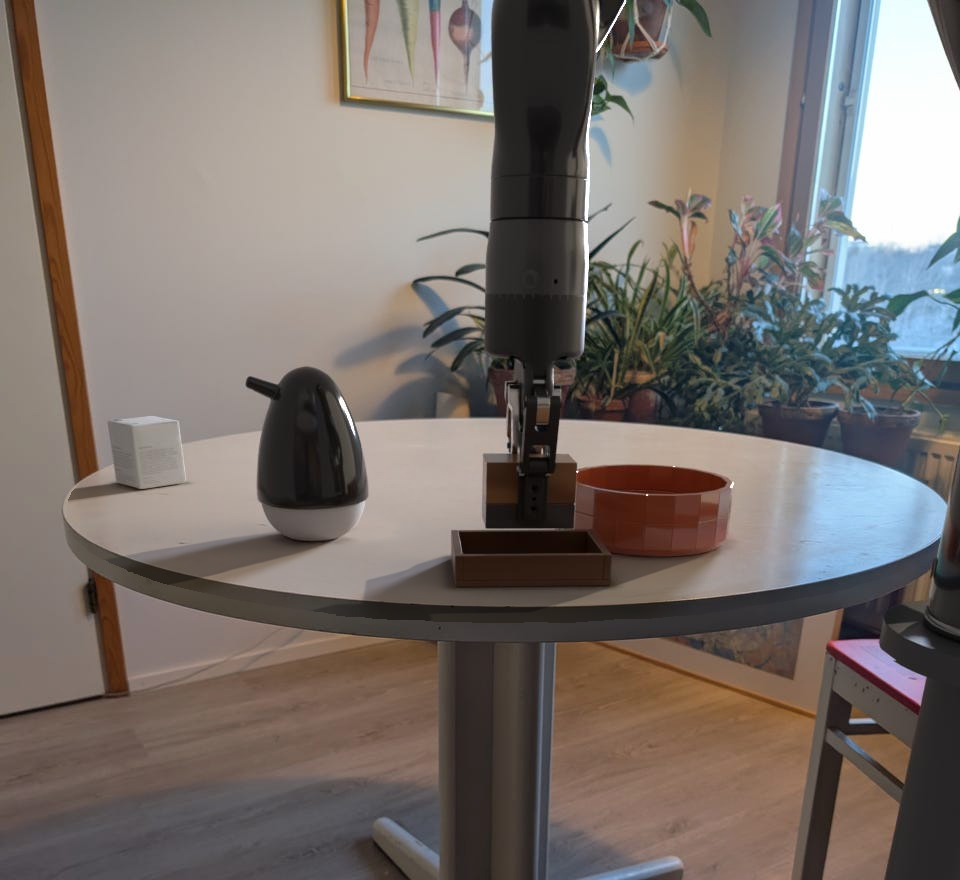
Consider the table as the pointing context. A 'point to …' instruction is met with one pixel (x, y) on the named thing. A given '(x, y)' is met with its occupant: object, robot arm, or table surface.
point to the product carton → (147, 451)
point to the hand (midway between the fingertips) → (527, 516)
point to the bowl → (653, 508)
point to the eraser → (504, 492)
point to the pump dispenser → (309, 457)
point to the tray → (529, 558)
